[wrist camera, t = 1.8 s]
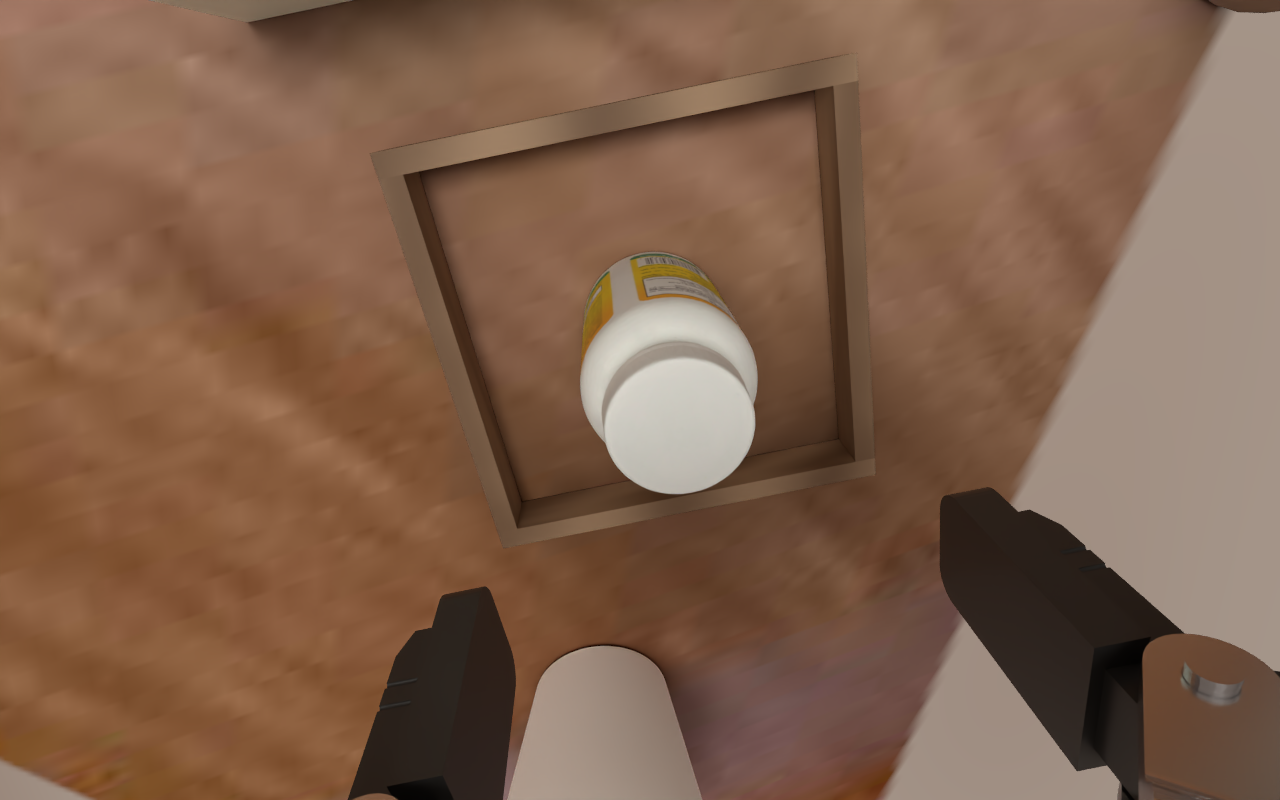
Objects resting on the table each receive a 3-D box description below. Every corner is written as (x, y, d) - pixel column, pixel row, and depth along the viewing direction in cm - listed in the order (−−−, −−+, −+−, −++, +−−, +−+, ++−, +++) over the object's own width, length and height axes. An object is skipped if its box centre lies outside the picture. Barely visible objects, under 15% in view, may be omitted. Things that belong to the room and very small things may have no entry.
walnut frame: (835, 56, 23) (857, 52, 21) (857, 451, 29) (875, 474, 27) (387, 149, 23) (369, 153, 21) (508, 520, 29) (503, 548, 27)
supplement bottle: (682, 223, 25) (734, 291, 16) (741, 343, 27) (815, 462, 18) (555, 291, 25) (538, 393, 17) (622, 403, 27) (638, 545, 19)
